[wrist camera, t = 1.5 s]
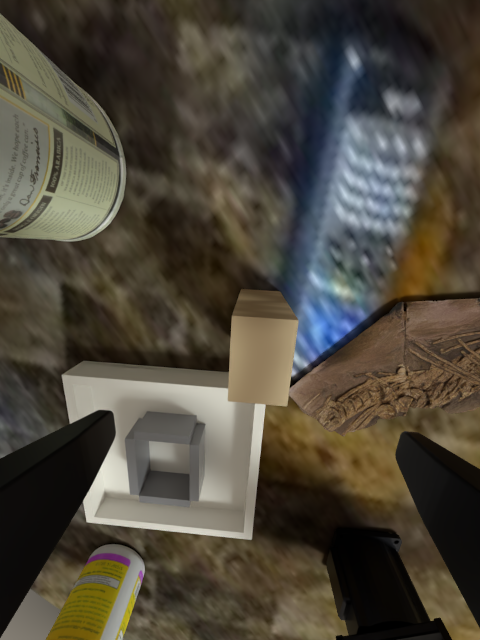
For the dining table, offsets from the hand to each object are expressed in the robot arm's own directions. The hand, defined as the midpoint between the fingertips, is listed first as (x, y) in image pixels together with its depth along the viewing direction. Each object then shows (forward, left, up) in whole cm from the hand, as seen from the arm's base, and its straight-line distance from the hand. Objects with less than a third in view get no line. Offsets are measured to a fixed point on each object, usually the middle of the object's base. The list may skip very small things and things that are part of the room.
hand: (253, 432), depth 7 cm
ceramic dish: (+7, +13, -12) cm, 19 cm away
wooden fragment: (-15, +2, -13) cm, 20 cm away
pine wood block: (0, 0, -12) cm, 12 cm away
